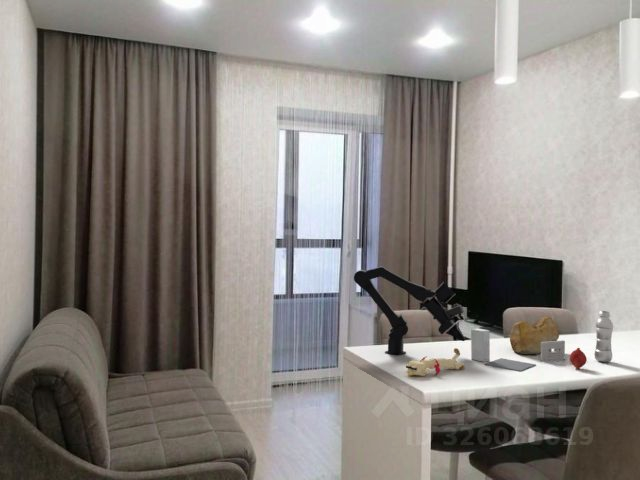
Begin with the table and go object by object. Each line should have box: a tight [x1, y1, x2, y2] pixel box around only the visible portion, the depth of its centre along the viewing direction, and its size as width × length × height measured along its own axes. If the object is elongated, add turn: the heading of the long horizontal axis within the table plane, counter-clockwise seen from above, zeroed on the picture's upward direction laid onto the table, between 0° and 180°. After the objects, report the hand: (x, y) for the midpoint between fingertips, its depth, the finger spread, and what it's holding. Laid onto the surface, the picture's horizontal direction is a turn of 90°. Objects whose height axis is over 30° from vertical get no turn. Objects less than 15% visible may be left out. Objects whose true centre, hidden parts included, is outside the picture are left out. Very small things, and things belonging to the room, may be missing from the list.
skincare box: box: [470, 328, 491, 363], centre depth 223 cm, size 6×4×12 cm
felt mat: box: [484, 357, 537, 372], centre depth 216 cm, size 14×14×1 cm
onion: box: [569, 347, 587, 370], centre depth 212 cm, size 6×6×8 cm
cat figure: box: [405, 348, 465, 376], centre depth 202 cm, size 10×9×25 cm
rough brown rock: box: [509, 315, 560, 355], centre depth 243 cm, size 23×17×15 cm
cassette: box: [540, 339, 566, 363], centre depth 225 cm, size 12×2×8 cm, turn 113°
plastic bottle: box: [593, 310, 614, 363], centre depth 225 cm, size 6×7×20 cm
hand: (464, 340), depth 226 cm, fingers closed
